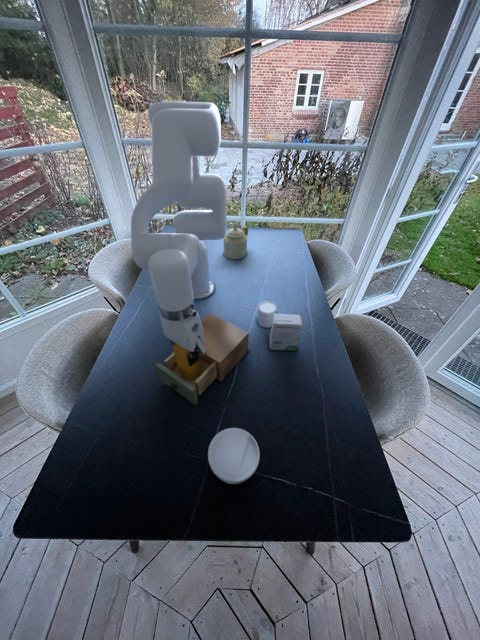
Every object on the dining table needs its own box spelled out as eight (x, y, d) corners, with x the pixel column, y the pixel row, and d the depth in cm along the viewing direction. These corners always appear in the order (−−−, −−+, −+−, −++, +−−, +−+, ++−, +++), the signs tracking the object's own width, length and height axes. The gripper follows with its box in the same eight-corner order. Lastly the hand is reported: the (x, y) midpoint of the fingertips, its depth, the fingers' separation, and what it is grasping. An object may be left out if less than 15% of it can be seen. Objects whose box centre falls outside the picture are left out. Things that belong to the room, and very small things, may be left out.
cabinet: (221, 381, 76) (220, 363, 70) (183, 357, 82) (179, 338, 76) (247, 351, 84) (248, 332, 78) (212, 332, 90) (210, 313, 84)
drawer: (192, 408, 69) (189, 394, 64) (156, 382, 75) (151, 367, 70) (224, 373, 77) (223, 358, 73) (190, 351, 83) (187, 336, 78)
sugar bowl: (226, 243, 136) (225, 214, 126) (247, 245, 135) (249, 216, 125) (222, 258, 125) (221, 228, 115) (245, 260, 125) (246, 229, 114)
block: (179, 373, 74) (172, 346, 66) (189, 363, 77) (184, 335, 68) (190, 381, 73) (184, 353, 64) (200, 370, 75) (196, 343, 67)
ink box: (294, 339, 89) (300, 313, 80) (296, 351, 85) (303, 325, 77) (269, 338, 89) (272, 312, 81) (269, 350, 85) (273, 323, 77)
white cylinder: (274, 330, 92) (276, 315, 87) (254, 327, 93) (256, 312, 88) (276, 317, 96) (278, 302, 92) (257, 314, 97) (259, 299, 93)
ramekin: (265, 480, 58) (267, 472, 55) (215, 496, 56) (214, 489, 52) (249, 431, 66) (250, 421, 62) (205, 444, 63) (203, 434, 60)
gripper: (218, 312, 56) (220, 363, 69) (162, 283, 63) (174, 335, 76) (194, 333, 52) (201, 384, 65) (137, 300, 58) (154, 352, 71)
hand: (187, 357), depth 70 cm, fingers closed on block, 4 cm apart
